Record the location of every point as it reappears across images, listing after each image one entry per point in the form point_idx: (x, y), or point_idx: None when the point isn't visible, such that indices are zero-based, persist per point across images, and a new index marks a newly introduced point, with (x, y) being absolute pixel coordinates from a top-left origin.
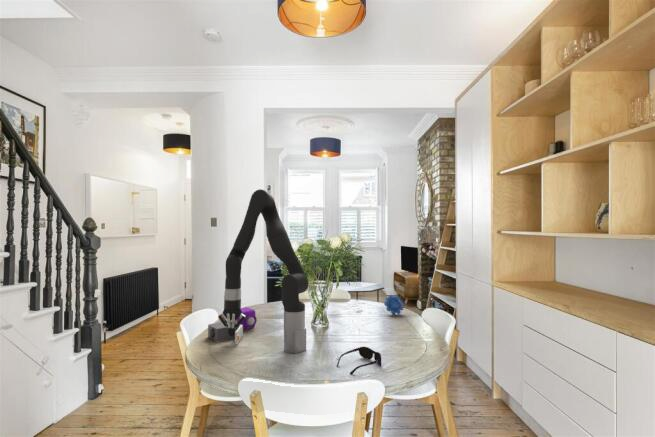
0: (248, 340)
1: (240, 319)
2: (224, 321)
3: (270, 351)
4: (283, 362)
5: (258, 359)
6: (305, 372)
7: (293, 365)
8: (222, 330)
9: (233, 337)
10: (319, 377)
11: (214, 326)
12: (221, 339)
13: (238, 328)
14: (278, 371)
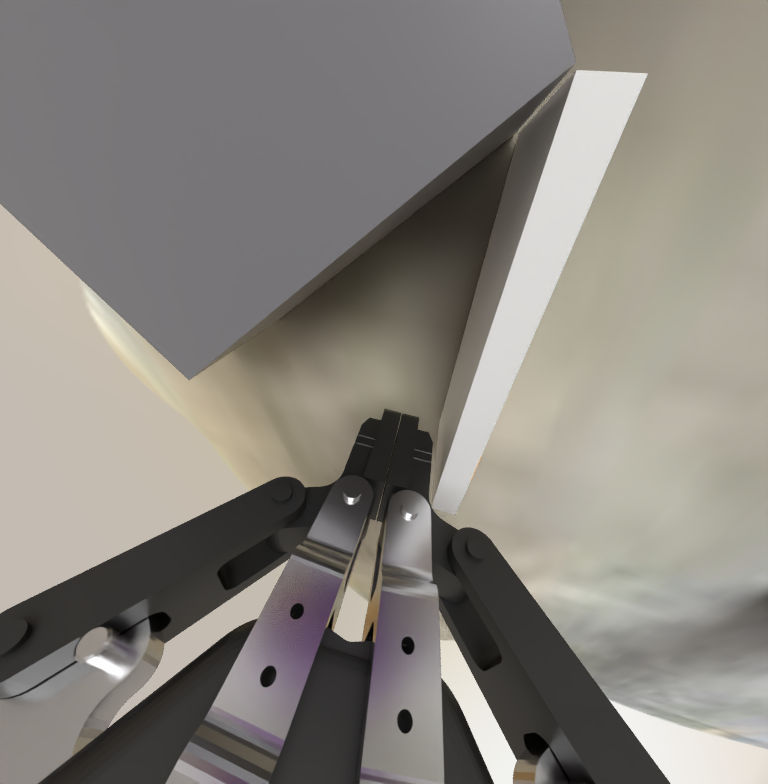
0: (586, 334)
1: (517, 752)
2: (237, 590)
3: (669, 568)
4: (658, 648)
5: (553, 599)
6: (691, 699)
7: (685, 670)
8: (253, 330)
9: (413, 212)
10: (714, 721)
11: (59, 231)
12: (300, 301)
13: (479, 394)
14: (595, 665)
